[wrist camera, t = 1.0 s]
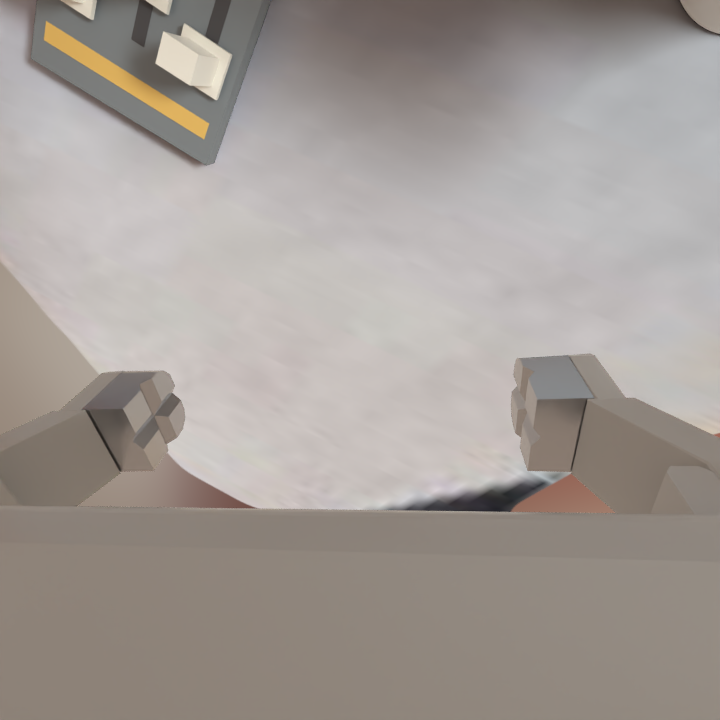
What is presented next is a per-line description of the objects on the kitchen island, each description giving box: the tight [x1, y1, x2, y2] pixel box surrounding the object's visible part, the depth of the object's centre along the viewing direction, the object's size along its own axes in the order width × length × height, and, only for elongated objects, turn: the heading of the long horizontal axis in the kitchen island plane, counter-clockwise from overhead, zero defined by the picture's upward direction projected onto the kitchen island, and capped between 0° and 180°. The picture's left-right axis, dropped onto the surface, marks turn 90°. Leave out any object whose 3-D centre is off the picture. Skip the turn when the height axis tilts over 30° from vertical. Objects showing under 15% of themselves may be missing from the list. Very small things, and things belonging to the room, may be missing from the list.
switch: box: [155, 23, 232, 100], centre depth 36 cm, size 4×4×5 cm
